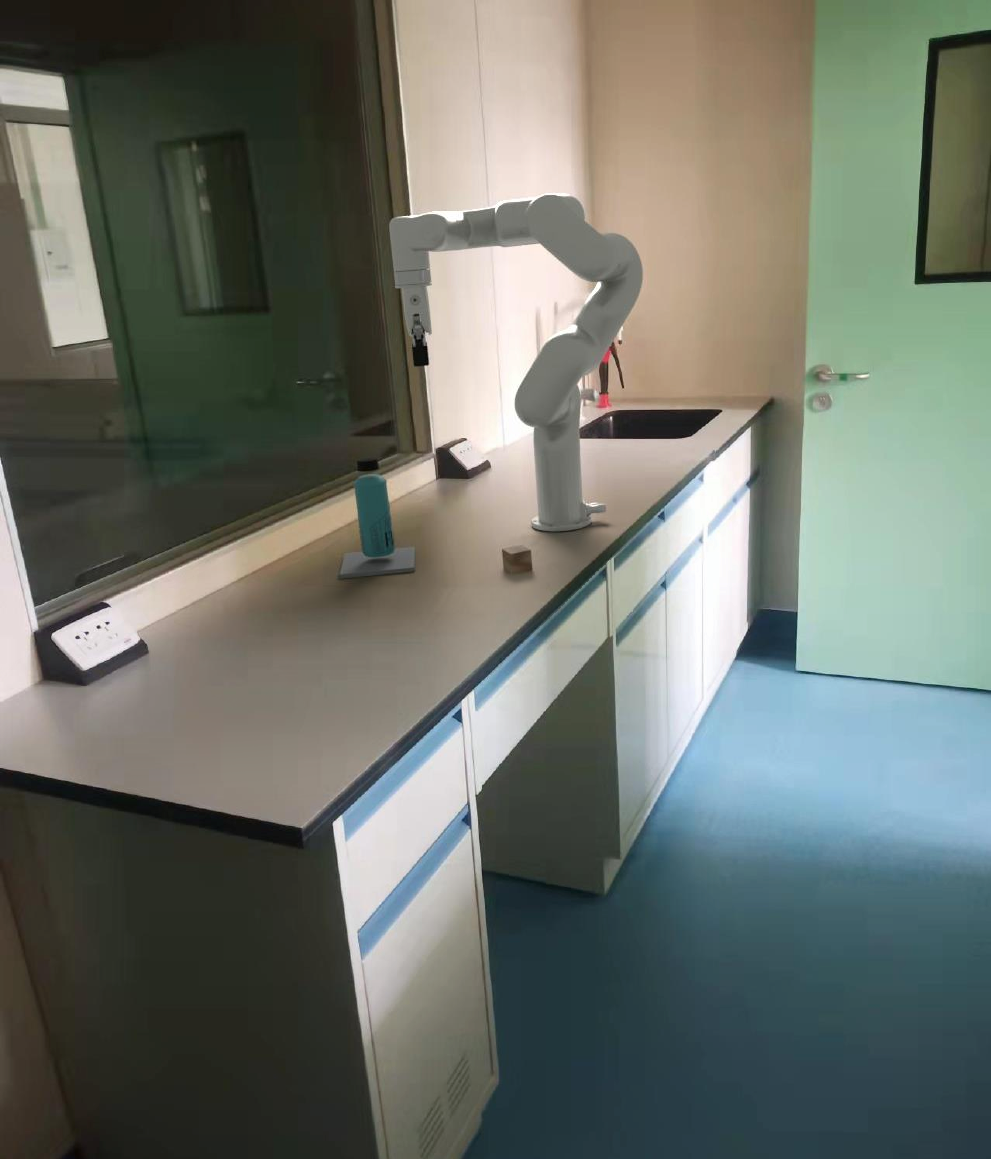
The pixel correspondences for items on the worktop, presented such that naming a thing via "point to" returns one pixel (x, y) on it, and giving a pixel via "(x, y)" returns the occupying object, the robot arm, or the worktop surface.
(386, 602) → the worktop surface
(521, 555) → the walnut block
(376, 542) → the beverage bottle
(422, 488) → the worktop surface
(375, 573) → the rubber mat
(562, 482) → the robot arm
